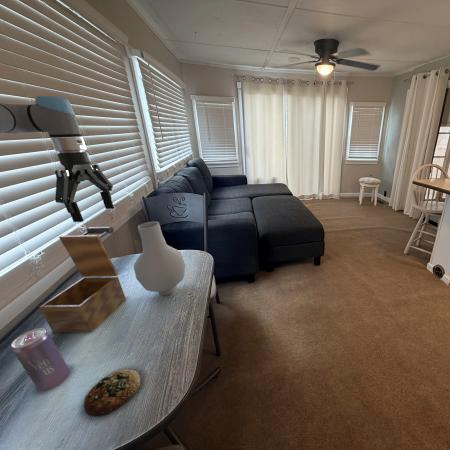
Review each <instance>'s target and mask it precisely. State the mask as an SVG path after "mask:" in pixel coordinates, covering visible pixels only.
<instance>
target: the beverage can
mask: <svg viewBox="0 0 450 450" xmlns="http://www.w3.org/2000/svg"><path fill="white" fill-rule="evenodd" d="M10 347H11V350H12V352H13V354H14V356H15V357H16V359H17V360H18V361H19V363H20V364H21V366H22V368H23V369H24V370H25V372H26V374H27V375H28V377H29V378H30V379H31V381H32V383H33V384H34V386H35V387H36V388H37V390H38V391H41V392H46V391H49V390H51V389H54V388H56V387H57V386H59V385H60V384H62V383H63V382H64V381H65V380H66V379H67V378H68V377H69V376H70V373H71V370H70V368H69V366H68V364H67V363H66V361H65V359H64V357H63V356H62V354H61V352H60V350H59V349H58V347H57V345H56V343H55V341H54V340H53V337H52V336H51V334H50V332H48V331H47V329H45V328H41V327H40V328H34V329H32V330H29V331H26V332H24V333H22V334H21V335H19V336H18V337H16V338H15V339H14V340H13V341H12V342H11V344H10Z"/></svg>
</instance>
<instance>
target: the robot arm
mask: <svg viewBox="0 0 450 450" xmlns="http://www.w3.org/2000/svg"><path fill="white" fill-rule="evenodd" d="M34 101H35V102H34V103H33V104H19V103H18V104H15V103H13V104H12V103H3V102H0V134H24V133H25V134H29V133H47V134H48V136H49V138H50V141H51V143H52V147H53V150H54V151H55V152H57V154H56V157H57V159H58V161H59V164H60V165H61V166H62V167H64V169H56V170H54V174H55V177H56V180H55V181H56V182H55V197H54V201H55V203H57V204H63V205H64V206H65V209H66V211H67V213H68V214H70V217H71V220H72V221H73V223H83V222H84V221H85V220H84V218H83V215H82V213H81V210H80V207H79V205H78V203H77V201H74V200H75V198H76V194H77V190H78V187H79V185H80V184H81V182H85V181H88V182H89V183H91V184H92V185H94V186H95V187H96V188H98V189H99V190H100V191H99V194H100V197H101V200H102V202H103V205H104V208H105V210H113V209H115V206H114V202H113V200H112V195H111V192H112V191H113V188H114V185H113V184H112V183H111V181H110V180H109V179H108V178H107V176H106V175H105V174H104V173H103V171H102V170H101V168H100V166H99V164H96V163H94V164H93V163H92V160H91V157H90V154H89V152H87V151H86V150H87V146H86V144H85V140H84V138H83V134H82V132H81V129H80V126H79V122H78V120H77V116H76V113H75V111H74V108H73V106H72V104H71V102H70V100H69V99H67V98H65V97H63V96H53V95H52V96H51V95H41V96H40V95H38V96H37V95H36V96H35V97H34Z"/></svg>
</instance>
